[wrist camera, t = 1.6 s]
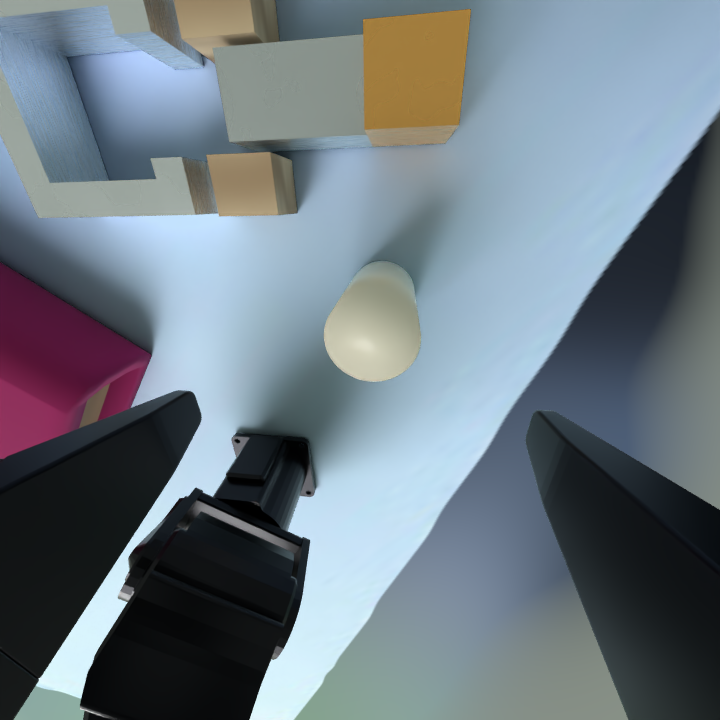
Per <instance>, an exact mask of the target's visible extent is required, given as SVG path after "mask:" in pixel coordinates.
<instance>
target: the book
mask: <svg viewBox="0 0 720 720" xmlns="http://www.w3.org/2000/svg"><path fill="white" fill-rule="evenodd" d="M150 359H151V354H150V353H148V352H146V351H145V350H143V349H141V348H140V347H138V346H137V345H135V344H133V343H132V342H130V341H128V340H127V339H125V338H123V337H122V336H120V335H119V334H117V333H115V332H114V331H112V330H110V329H109V328H107V327H106V326H104V325H102V324H101V323H99V322H97V321H96V320H94V319H92V318H91V317H89V316H88V315H86V314H84V313H83V312H81V311H79V310H78V309H76V308H74V307H73V306H71V305H70V304H68V303H66V302H65V301H63V300H61V299H60V298H58V297H57V296H55V295H53V294H52V293H50V292H48V291H47V290H45V289H43V288H42V287H40V286H39V285H37V284H35V283H34V282H32V281H30V280H29V279H27V278H26V277H24V276H22V275H21V274H19V273H17V272H16V271H14V270H12V269H11V268H9V267H8V266H6V265H4V264H3V263H1V262H0V459H4V458H6V457H7V456H9V455H12V454H14V453H17V452H19V451H22V450H25V449H27V448H30V447H32V446H35V445H37V444H40V443H43V442H45V441H48V440H50V439H53V438H55V437H58V436H61V435H63V434H66V433H68V432H71V431H73V430H76V429H79V428H81V427H84V426H86V425H89V424H91V423H94V422H97V421H99V420H102V419H104V418H107V417H109V416H112V415H115V414H117V413H120V412H122V411H125V410H127V409H130V408H131V405H132V403H133V400H134V398H135V396H136V393H137V391H138V388H139V386H140V383H141V381H142V378H143V376H144V374H145V371H146V369H147V366H148V364H149V361H150Z"/></svg>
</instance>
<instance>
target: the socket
mask: <svg viewBox="0 0 720 720" xmlns="http://www.w3.org/2000/svg"><path fill="white" fill-rule="evenodd" d="M136 50H142V51H144V52H146V53H148V54H149V55H151V56H153V57H154V58H156V59H158V60H159V61H161V62H163V63H165V64H166V65H168V66H170V67H171V68H173V69H175V70H177V69H189V68H201V67H204V66H203V61H202V56H201V53H200V52H199V51H197V50H196V49H195V48H193V47H192V46H191V45H189V44H188V43H187V42H185V41H184V40H182V38H181V33H180V28H179V24H178V19H177V14H176V9H175V5H174V0H0V135H1V137H2V139H3V142H4V144H5V146H6V148H7V150H8V152H9V155H10V157H11V159H12V161H13V163H14V165H15V168H16V170H17V172H18V174H19V176H20V179H21V181H22V183H23V185H24V187H25V189H26V192H27V194H28V196H29V198H30V200H31V203H32V205H33V207H34V209H35V211H36V213H37V216H38V218H58V217H107V216H156V215H199V214H215V213H218V208H217V204H216V199H215V194H214V189H213V185H212V180H211V175H210V170H209V166H208V162H204V161H199V160H194V159H189V158H184V157H167V158H150V159H151V162H152V166H153V170H154V173H155V177H156V179H144V180H117V181H109V178H108V175H107V172H106V169H105V167H104V164H103V161H102V158H101V155H100V152H99V149H98V146H97V143H96V140H95V138H94V135H93V132H92V129H91V126H90V123H89V120H88V117H87V114H86V111H85V109H84V106H83V103H82V100H81V97H80V94H79V91H78V88H77V85H76V82H75V79H74V77H73V74H72V71H71V68H70V65H69V62H68V59H67V57H70V56H81V55H92V54H103V53H114V52H125V51H136Z"/></svg>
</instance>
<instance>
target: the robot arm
mask: <svg viewBox="0 0 720 720" xmlns="http://www.w3.org/2000/svg"><path fill="white" fill-rule="evenodd" d="M201 418H202V417H201V412H200V409H199V406H198V403H197V400H196V397H195V395H194V393H193V392H191V391H181V390H178V391H174V392H171V393H169V394H166V395H164V396H161V397H158V398H156V399H153V400H151V401H148V402H146V403H143V404H140V405H138V406H135V407H133V408H130V409H127V410H125V411H122V412H120V413H117V414H115V415H112V416H109V417H107V418H104V419H102V420H99V421H97V422H94V423H91V424H89V425H86V426H84V427H81V428H79V429H76V430H73V431H71V432H68V433H66V434H63V435H61V436H58V437H55V438H53V439H50V440H48V441H45V442H43V443H40V444H37V445H35V446H32V447H30V448H27V449H25V450H22V451H19V452H17V453H14V454H12V455H9V456H7V457H6V458H4V459H0V720H14V718H15V717H16V715H17V713H18V712H19V710H20V709H21V707H22V706H23V704H24V703H25V701H26V700H27V698H28V697H29V695H30V693H31V692H32V690H33V689H34V687H35V686H36V684H37V683H38V681H39V679H38V678H40V677H41V676H42V675H43V673H44V671H45V670H46V668H47V667H48V665H49V664H50V662H51V661H52V659H53V658H54V656H55V655H56V653H57V652H58V650H59V648H60V647H61V645H62V644H63V642H64V641H65V639H66V638H67V636H68V635H69V633H70V632H71V630H72V629H73V627H74V625H75V624H76V622H77V621H78V619H79V618H80V616H81V615H82V613H83V612H84V610H85V609H86V607H87V606H88V604H89V602H90V601H91V599H92V598H93V596H94V595H95V593H96V592H97V590H98V589H99V587H100V586H101V584H102V583H103V581H104V579H105V578H106V576H107V575H108V573H109V572H110V570H111V569H112V567H113V566H114V564H115V563H116V561H117V560H118V558H119V556H120V555H121V553H122V552H123V550H124V549H125V547H126V546H127V544H128V543H129V541H130V540H131V538H132V537H133V535H134V533H135V532H136V530H137V529H138V527H139V526H140V524H141V523H142V521H143V520H144V518H145V517H146V515H147V514H148V512H149V510H150V509H151V507H152V506H153V504H154V503H155V501H156V500H157V498H158V497H159V495H160V494H161V492H162V491H163V489H164V487H165V486H166V484H167V483H168V481H169V480H170V478H171V477H172V475H173V473H174V472H175V470H176V468H177V467H178V465H179V463H180V461H181V459H182V457H183V455H184V453H185V451H186V450H187V448H188V446H189V444H190V442H191V440H192V438H193V436H194V434H195V432H196V431H197V429H198V427H199V425H200V423H201ZM238 439H239V440H238ZM301 443H302V444H304V445H302V444H301ZM232 444H233V447H234V451H235V454H236V459H235V461H234V462H233V464H232V465H231V467H230V468H229V470H228V471H227V473H226V477H225V479H224V480H223V482H222V483H221V485H220V486H219V488H218V490H217V491H216V493H215V494H214V496H213V497H212V496H210V495H207V494H205V493H203V491H202V490H200V489H198V488H195V489H194V490H193V492H192V493H191V494H190V495H189V496H188V497H187V496H185V497H184V498H179V500H178V501H177V502H176V504H175V505H174V506H173V508H172V509H171V510H170V512H169V513H168V514H167V516H166V517H165V518H164V519H163V520H162V522H161V523H160V524H159V525H158V526H157V527H156V528H155V529H154V530H153V531H152V532H151V533H150V534H149V535H148V536H147V537H146V538H145V539H144V540H143V541H142V542H141V543H140V544H139V545H138V546H137V547H136V548H135V549H134V550H133V551H132V553H131V554H130V556H129V558H128V562H129V572H128V574H127V576H126V579H125V581H126V582H125V583H124V585H123V587H122V589H121V591H120V593H119V595H118V599H121V600H123V601H126V602H128V603H127V604H126V606H125V608H124V609H123V611H122V612H121V614H120V615H119V617H118V619H117V620H116V622H115V623H114V625H113V627H112V628H111V630H110V631H109V633H108V634H107V636H106V638H105V639H104V641H103V642H102V644H101V646H100V647H99V649H98V651H97V652H96V654H95V657H94V660H93V664H92V666H91V667H90V669H89V671H88V674H87V678H86V682H85V686H84V690H83V694H82V698H81V703H80V709H82V710H85V712H84V718H83V720H249V719H250V716H251V713H252V710H253V707H254V704H255V701H256V698H257V695H258V692H259V689H260V686H261V683H262V681H263V678H264V676H265V673H266V671H267V668H268V666H269V663H270V661H271V659H273V660H274V659H276V658H277V657H278V656H279V655H280V654H281V652H282V650H283V649H284V647H285V645H286V643H287V641H288V639H289V636H290V634H291V632H292V629H293V626H294V624H295V621H296V618H297V615H298V612H299V608H300V604H301V600H302V594H303V588H304V581H305V574H306V567H307V559H308V552H309V545H310V540H309V539H307V538H304V537H303V538H301V537H299V536H297V535H294V534H292V533H290V532H288V528H289V525H290V522H291V519H292V517H293V514H294V511H295V508H296V505H297V502H298V499H299V496H307V497H311V496H313V495H314V493H315V484H314V476H313V469H312V461H311V453H310V445H309V441H308V440H307V439H305V438H299V437H285V436H271V435H257V434H242V433H236V434H235V435H234V436H233V437H232ZM526 446H527V450H528V454H529V457H530V461H531V465H532V468H533V472H534V475H535V479H536V483H537V486H538V490H539V494H540V497H541V500H542V504H543V506H544V509H545V512H546V514H547V517H548V519H549V522H550V524H551V527H552V529H553V532H554V534H555V537H556V539H557V542H558V544H559V547H560V549H561V552H562V554H563V557H564V560H565V562H566V565H567V567H568V570H569V572H570V575H571V577H572V580H573V582H574V585H575V587H576V590H577V592H578V595H579V597H580V599H581V602H582V605H583V607H584V610H585V612H586V615H587V617H588V620H589V622H590V625H591V627H592V630H593V632H594V634H595V637H596V640H597V642H598V645H599V647H600V650H601V652H602V655H603V657H604V660H605V662H606V664H607V667H608V670H609V672H610V674H611V677H612V680H613V682H614V685H615V687H616V690H617V692H618V695H619V697H620V700H621V702H622V705H623V707H624V710H625V712H626V715H627V717H628V720H720V510H719V509H717V508H716V507H714V506H712V505H711V504H709V503H707V502H705V501H704V500H702V499H701V498H699V497H697V496H696V495H694V494H692V493H691V492H689V491H687V490H686V489H684V488H682V487H681V486H679V485H677V484H676V483H674V482H672V481H671V480H669V479H667V478H666V477H664V476H662V475H660V474H659V473H657V472H656V471H654V470H652V469H650V468H649V467H647V466H645V465H643V464H642V463H640V462H639V461H637V460H635V459H634V458H632V457H630V456H629V455H627V454H625V453H624V452H622V451H620V450H619V449H617V448H615V447H614V446H612V445H610V444H609V443H607V442H605V441H604V440H602V439H600V438H599V437H597V436H595V435H594V434H592V433H590V432H589V431H587V430H585V429H584V428H582V427H580V426H579V425H577V424H575V423H574V422H572V421H570V420H569V419H567V418H565V417H563V416H562V415H560V414H559V413H557V412H555V411H550V410H536V411H535V412H534V413H533V415H532V417H531V421H530V424H529V428H528V431H527V434H526Z"/></svg>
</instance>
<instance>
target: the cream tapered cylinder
mask: <svg viewBox="0 0 720 720" xmlns="http://www.w3.org/2000/svg"><path fill="white" fill-rule="evenodd" d="M324 342H325V346H326V350H327V352H328V354H329V356H330V358H331V360H332V361H333V362H334V363H335V365H336V366H337V367H338V368H339V369H341V370H342V371H343V372H344V373H346V374H348V375H349V376H352V377H354V378H356V379H359V380H363V381H371V382H378V381H385V380H389V379H392V378H394V377H396V376H398V375H400V374H402V373H403V372H404V371H406V370H407V369H408V368H409V367H410V366H411V365H412V363H413V362H414V360H415V359H416V357H417V355H418V352H419V349H420V344H421V333H420V326H419V318H418V311H417V304H416V297H415V289H414V284H413V281H412V279H411V277H410V276H409V274H408V273H407V272H406V271H405V270H404V269H403V268H402V267H400V266H399V265H397V264H395V263H392V262H388V261H376V262H372V263H369V264H367V265H365V266H364V267H362V268H361V269H360V270H359V271H358V272H357V273H356V275H355V276H354V278H353V279H352V281H351V282H350V284H349V285H348V287H347V288H346V290H345V291H344V293H343V294H342V296H341V298H340V299H339V301H338V302H337V304H336V305H335V307H334V308H333V310H332V311H331V313H330V315H329V316H328V319H327V321H326V324H325V328H324Z"/></svg>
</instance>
